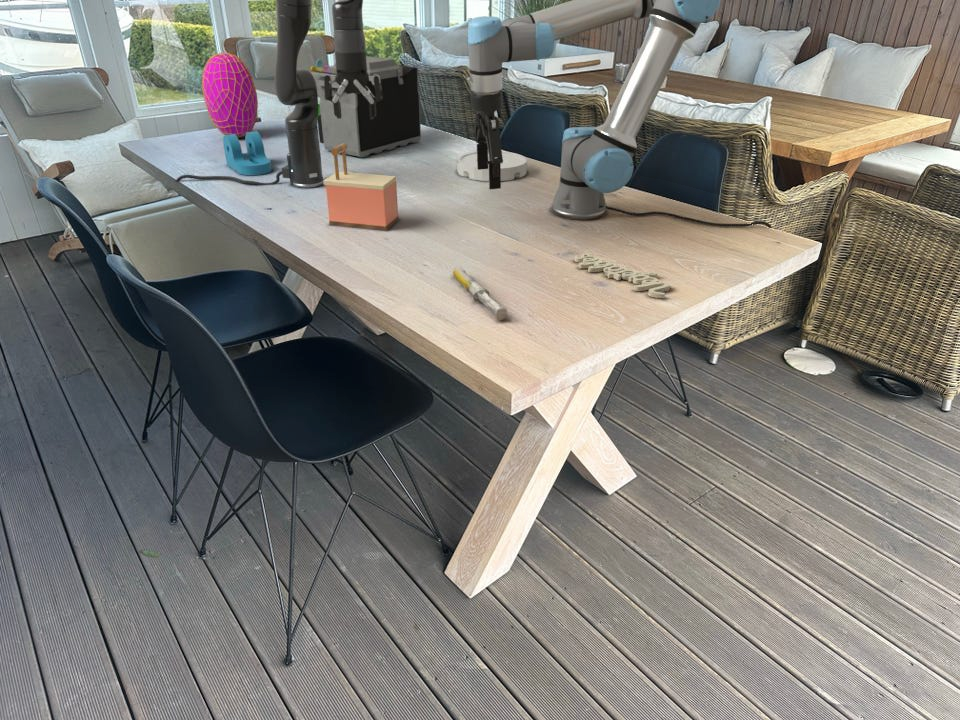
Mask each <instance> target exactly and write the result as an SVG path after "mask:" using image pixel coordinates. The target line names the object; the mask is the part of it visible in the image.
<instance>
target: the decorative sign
mask: <svg viewBox="0 0 960 720" xmlns="http://www.w3.org/2000/svg"><path fill="white" fill-rule="evenodd" d="M574 262H575V263H578V269H588V270H587V272H588V273H598V272H603V273H604V276H606V277H607V278H608V279H614V280H617V281H621V279H622V280H627V281H628V282H630V283H633V284H634V285H633V291H636V292H643V291H647V290H648V293H647V294H648V296H649V297H652V298H656V299H664V298H665V295H666V292H668V291H669V290H670V289H671V283H670V282H668V281H659V279H658V272H657V271H648V272H639V271H637V270H634V269H630V268H628V267H627V266H626V267H625V266H624V265H619V264H618V263H615V262H611V261H610V260H604V258H601V257H598V256H596V255H592V254H590V253H587V252H586V253H582V254H581V255H580V256H578V255H575V256H574Z"/></svg>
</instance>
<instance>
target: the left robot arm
mask: <svg viewBox="0 0 960 720" xmlns="http://www.w3.org/2000/svg"><path fill="white" fill-rule="evenodd" d="M312 4H313V3H312V0H276V54H275V55H276V56H275V67H274V79H273V80H274V84H273V85H274V91H275V95H276V97H277V99H278V101H279V102H280V103H281V104H282V105H284V106H294V108H293V109H292V111H291V112H290V113H289V114H288V115H287V116H286V117H285V120H284V123H285V131H286V138H287V146H288V153H287V154H286V161H287V165H284V166H283V167H281V171H279V172H277V174H276V175H275V178H276V179H275V180H274V181H272V182H261V181H260V182H259V181H254V180H245V179H241V178H238V177H234V176H227V175H204V176H203V175H202V176H201V175H193V174H183V175H180V176H178V177H176V179H175V181H174V182H175V183H177V182H180V181H182V180H183V179H195V180H201V181H202V180H203V181H204V180H228V181H229V180H230V181H235V182H237V183H241V184H246V185H253V186H271V185H277V184H278V183H280V180H281V179H280V177H281V176H282V178H283V179H289V184H290V186H294V187H296V188H300V189H301V188H303V189H310V188H317V187H320V186H322V185H324V182H323V181H324V175H323V167H322V157H321V147H320V139H319V130H318V121H317V120H318V115H319V113H318V104H319V97H318V94H317V85H316V81H315V79H314V76H313V75H312V73H311V72H310V70H309V69H306V68H297V67H298V58H299V54H300V51H301V48H302V46H303V44H304V42H305V40H306V38H307V36H308V33H309V31H310V28H311V24H312ZM363 4H364V0H338V1H335V2H333V4H332V7H331V13H332V23H333V50H334V59H335V63H336V71H337V73H336V75H330V74H327V75H325V76H324V86H325V99H326V100H329V101H331V102H333V106H334V115H335V116H337V119H340V118H341V117H342V115H341V104H340V102H339V100H340V98H341V97H342V95H343V94H344V92H345V93H347V94H351V93H354V94H359V93H362V94H363V96H364V97H366V99H367V100H368V101H369V102H370V104H369V113H370V119H374V117H375V116H376V102H379V101H381V100H382V99H383V95H382V86H381V78H380V75H376V76H369V75H368V73H367V61H366V56H367V49H366V48H367V47H366V37H365V32H364V20H363V19H364V18H363ZM334 80H336V82H337V83H338V84H339V86H340V88H339V89H338V91H337V92H336V94H335V96H333V95H332V84H333V83H334ZM369 81H371V82H372V84H373V85H375V93H376V97H374V96H373V95H372V93H371V91H370V90H369V88H368V87H367V86H366V85H367V84H368V82H369ZM363 91H364V92H363Z"/></svg>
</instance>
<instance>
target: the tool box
mask: <svg viewBox="0 0 960 720" xmlns="http://www.w3.org/2000/svg"><path fill="white" fill-rule="evenodd" d="M366 61H367V73H368V75H369V76H376V75H380V78H381V86H382V95H383V99H382V100H381V101H379V102H376V116H375V117H374V119H370V113H369V104H370V102H369V101H368V100H367V99H366V97H364V96H363V94H362V93H359V94H354V93H351V94H347V93H345V92H344V94H343V95H342V97H341V98H340V100H339V102H340V104H341V115H342V117H341V118H340V119H337V116H335V115H334V106H333V102H331V101H329V100H326V99H325V86H324V76H325V75H327V74H330V75H336V73H337V71H336V62H335V63H334V64H333V65H330V66H331V67H329V72H321V71H313V72H311V73H312V75H313V76H314V79H315V81H316V85H317V94H318V96H319V97H318V99H319V104H320V111H321V115H319V116H318V121H317V127H318V137H319V144H323V146H324V149H325V150H327V151H330V152H331V150H332V149H333V148H334V147H336V146H338V145H340V144H342V143H345V144H346V145H347V150H345V151H346V155H348V156H353V157H357V158H362V159H363V158H366V157H367V158H368V157H369V155H371V154H375V155H377V154H381V153H382V152H383V151H391V150H395V149H396V148H397V147H405V146H407V145H408V144H416V143H418V142H419V141H421V137H422V128H421V97H420V92H419V91H420V89H419V68H418V67H417V66H408V65H400V64H396V62H395V60H394V59H393V58H385V57H377V56H367V55H366ZM366 86H367V87H368V88H369V90H370V91H371V93H372V95H373V96H374V97H376V93H375V85H373V84H372V82H371V81H369V82H368V84H367V85H366ZM339 88H340V86H339V84H338V83H337V82H336V80H334V83H333V84H332V95H333V96H335V94H336V92H337V91H338V89H339ZM363 92H364V91H363Z"/></svg>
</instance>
